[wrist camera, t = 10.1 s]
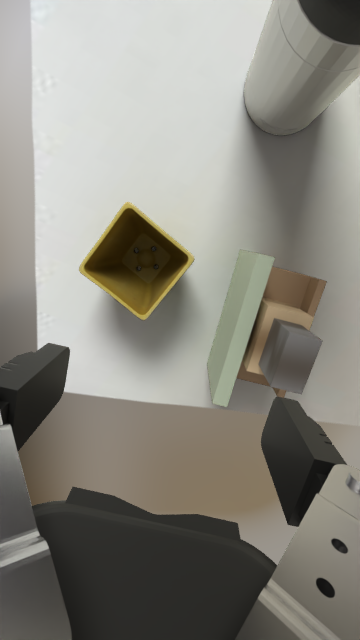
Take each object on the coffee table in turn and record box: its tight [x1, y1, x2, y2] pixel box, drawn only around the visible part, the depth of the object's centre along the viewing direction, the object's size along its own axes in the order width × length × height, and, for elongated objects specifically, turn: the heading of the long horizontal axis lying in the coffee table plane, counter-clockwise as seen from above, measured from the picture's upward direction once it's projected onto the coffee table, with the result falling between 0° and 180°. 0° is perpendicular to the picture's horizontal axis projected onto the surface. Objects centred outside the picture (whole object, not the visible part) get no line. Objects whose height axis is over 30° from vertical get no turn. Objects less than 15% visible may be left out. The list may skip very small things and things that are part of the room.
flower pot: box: [79, 202, 194, 320], centre depth 36 cm, size 9×9×9 cm
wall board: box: [207, 250, 327, 407], centre depth 36 cm, size 16×9×11 cm, turn 166°
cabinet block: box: [242, 297, 322, 394], centre depth 32 cm, size 7×5×11 cm, turn 166°
